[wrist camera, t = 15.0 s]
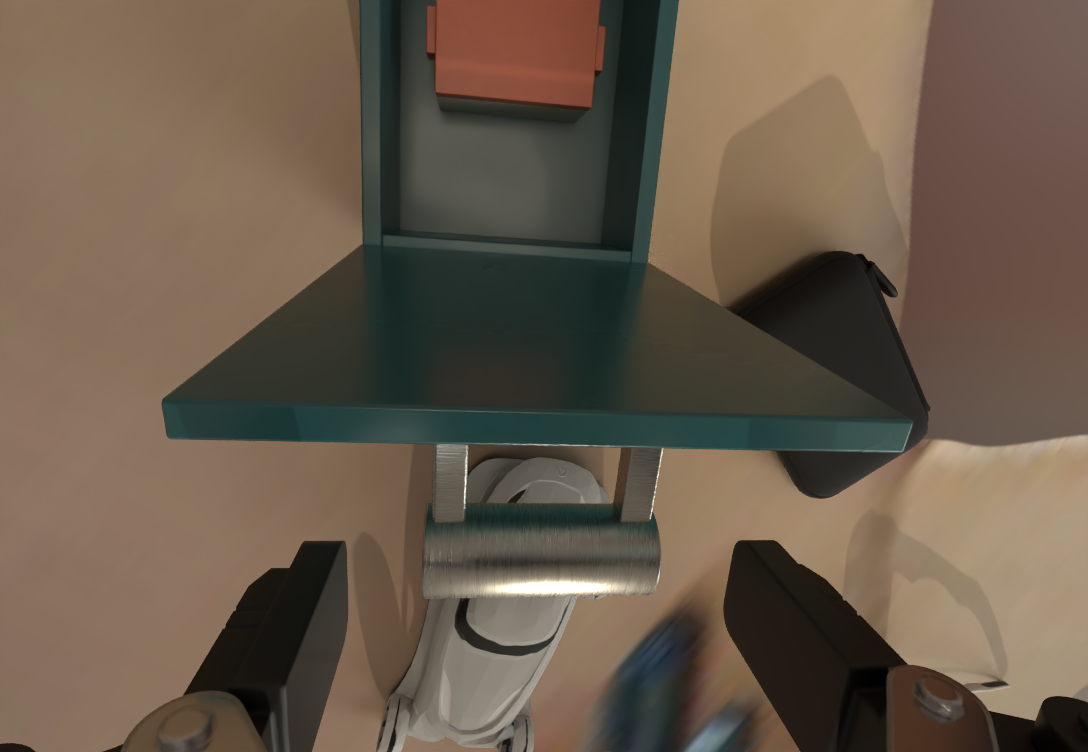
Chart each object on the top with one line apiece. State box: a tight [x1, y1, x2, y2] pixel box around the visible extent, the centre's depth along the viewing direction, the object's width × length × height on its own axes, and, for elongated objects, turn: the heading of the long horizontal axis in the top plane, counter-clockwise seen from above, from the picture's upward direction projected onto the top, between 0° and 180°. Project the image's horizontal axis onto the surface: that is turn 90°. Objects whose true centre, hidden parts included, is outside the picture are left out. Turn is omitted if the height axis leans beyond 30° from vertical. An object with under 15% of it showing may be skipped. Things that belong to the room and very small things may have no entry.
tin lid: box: [162, 245, 913, 599], centre depth 18 cm, size 16×13×5 cm
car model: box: [376, 457, 609, 752], centre depth 36 cm, size 11×24×5 cm, turn 161°
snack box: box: [426, 0, 606, 123], centre depth 27 cm, size 8×5×4 cm, turn 86°
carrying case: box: [732, 251, 930, 499], centre depth 35 cm, size 11×3×15 cm
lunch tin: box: [359, 0, 679, 263], centre depth 26 cm, size 16×13×7 cm
